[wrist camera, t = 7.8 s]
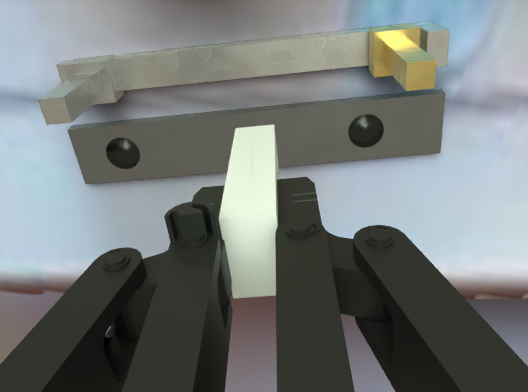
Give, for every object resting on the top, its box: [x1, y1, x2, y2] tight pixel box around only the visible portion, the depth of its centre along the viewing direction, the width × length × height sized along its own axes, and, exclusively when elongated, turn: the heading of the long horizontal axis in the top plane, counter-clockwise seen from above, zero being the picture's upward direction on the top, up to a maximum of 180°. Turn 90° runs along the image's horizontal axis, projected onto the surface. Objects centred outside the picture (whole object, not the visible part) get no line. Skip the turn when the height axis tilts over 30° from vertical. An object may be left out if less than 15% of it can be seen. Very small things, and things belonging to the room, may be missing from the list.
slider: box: [369, 23, 436, 91], centre depth 29 cm, size 3×3×8 cm
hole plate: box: [68, 89, 445, 184], centre depth 38 cm, size 30×5×1 cm, turn 96°
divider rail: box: [38, 21, 450, 125], centre depth 31 cm, size 28×3×9 cm, turn 96°
